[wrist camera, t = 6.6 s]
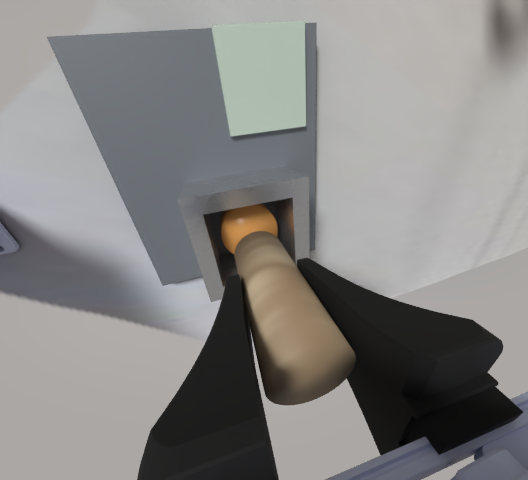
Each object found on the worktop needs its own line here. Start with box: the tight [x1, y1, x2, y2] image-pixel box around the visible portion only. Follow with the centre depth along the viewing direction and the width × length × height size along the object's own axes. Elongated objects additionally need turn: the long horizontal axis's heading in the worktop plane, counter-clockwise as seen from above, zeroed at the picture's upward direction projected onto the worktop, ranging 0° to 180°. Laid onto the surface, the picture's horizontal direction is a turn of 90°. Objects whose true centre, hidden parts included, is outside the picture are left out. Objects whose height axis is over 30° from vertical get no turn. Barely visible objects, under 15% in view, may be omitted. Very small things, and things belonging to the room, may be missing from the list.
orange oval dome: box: [220, 203, 278, 254], centre depth 17 cm, size 5×5×2 cm
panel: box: [47, 23, 316, 285], centre depth 17 cm, size 16×18×1 cm
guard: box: [177, 166, 310, 302], centre depth 17 cm, size 8×8×5 cm
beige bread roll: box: [234, 231, 356, 405], centre depth 10 cm, size 3×3×8 cm
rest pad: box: [212, 21, 306, 136], centre depth 14 cm, size 6×6×1 cm
